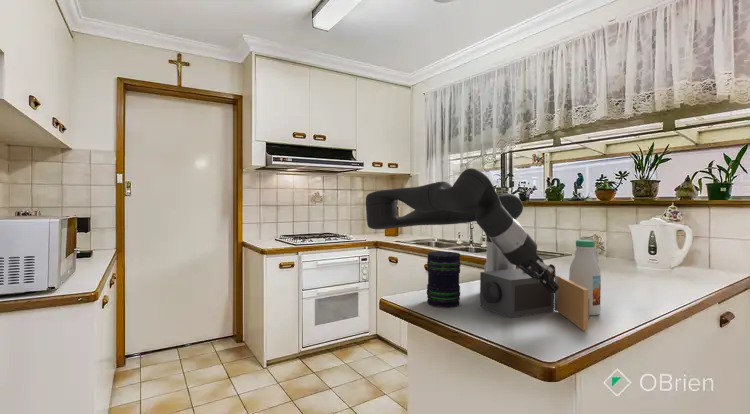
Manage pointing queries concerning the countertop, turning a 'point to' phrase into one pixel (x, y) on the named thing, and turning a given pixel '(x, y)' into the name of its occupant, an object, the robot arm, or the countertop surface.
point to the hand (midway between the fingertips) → (554, 289)
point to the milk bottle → (587, 273)
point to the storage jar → (443, 279)
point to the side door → (572, 302)
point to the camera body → (514, 293)
